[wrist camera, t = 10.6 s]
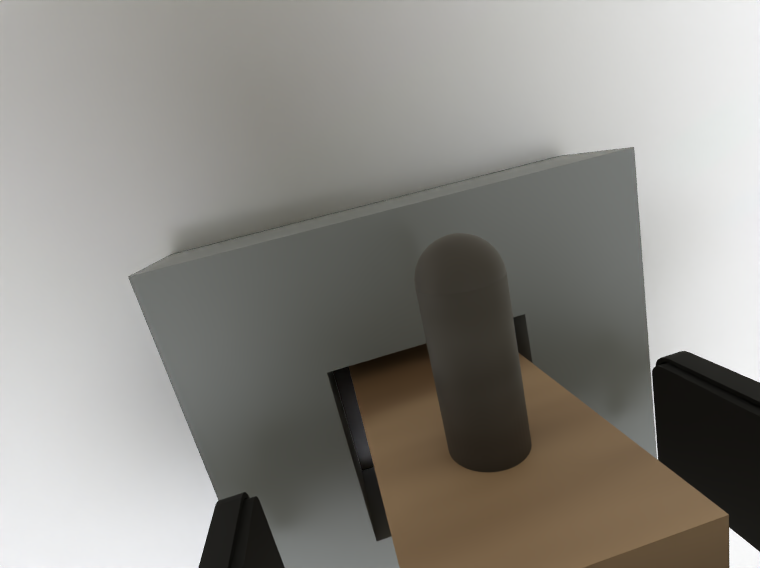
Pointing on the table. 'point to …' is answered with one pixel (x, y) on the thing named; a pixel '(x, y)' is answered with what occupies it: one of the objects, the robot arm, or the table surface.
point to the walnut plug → (511, 446)
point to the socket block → (391, 332)
